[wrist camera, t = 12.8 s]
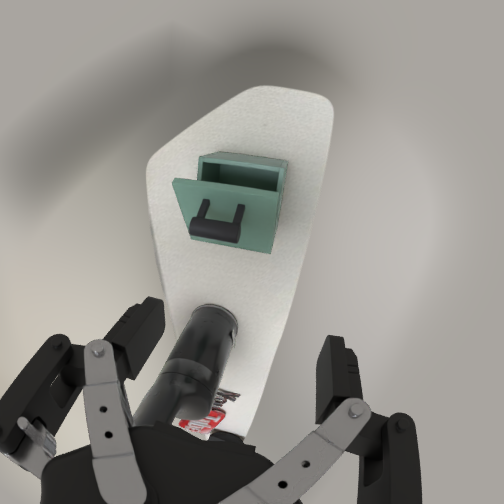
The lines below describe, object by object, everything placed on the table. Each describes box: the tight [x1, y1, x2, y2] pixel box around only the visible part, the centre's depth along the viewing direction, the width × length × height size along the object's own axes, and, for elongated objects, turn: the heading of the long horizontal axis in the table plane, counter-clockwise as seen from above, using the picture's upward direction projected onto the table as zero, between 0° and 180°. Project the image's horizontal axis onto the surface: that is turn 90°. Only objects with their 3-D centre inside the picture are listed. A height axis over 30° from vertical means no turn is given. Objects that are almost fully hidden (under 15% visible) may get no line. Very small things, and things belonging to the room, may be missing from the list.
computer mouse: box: [208, 432, 244, 444], centre depth 70 cm, size 6×11×4 cm, turn 74°
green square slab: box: [172, 178, 279, 254], centre depth 29 cm, size 11×10×5 cm
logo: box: [179, 391, 240, 434], centre depth 64 cm, size 25×2×10 cm
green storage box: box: [197, 152, 288, 246], centre depth 36 cm, size 10×10×9 cm
